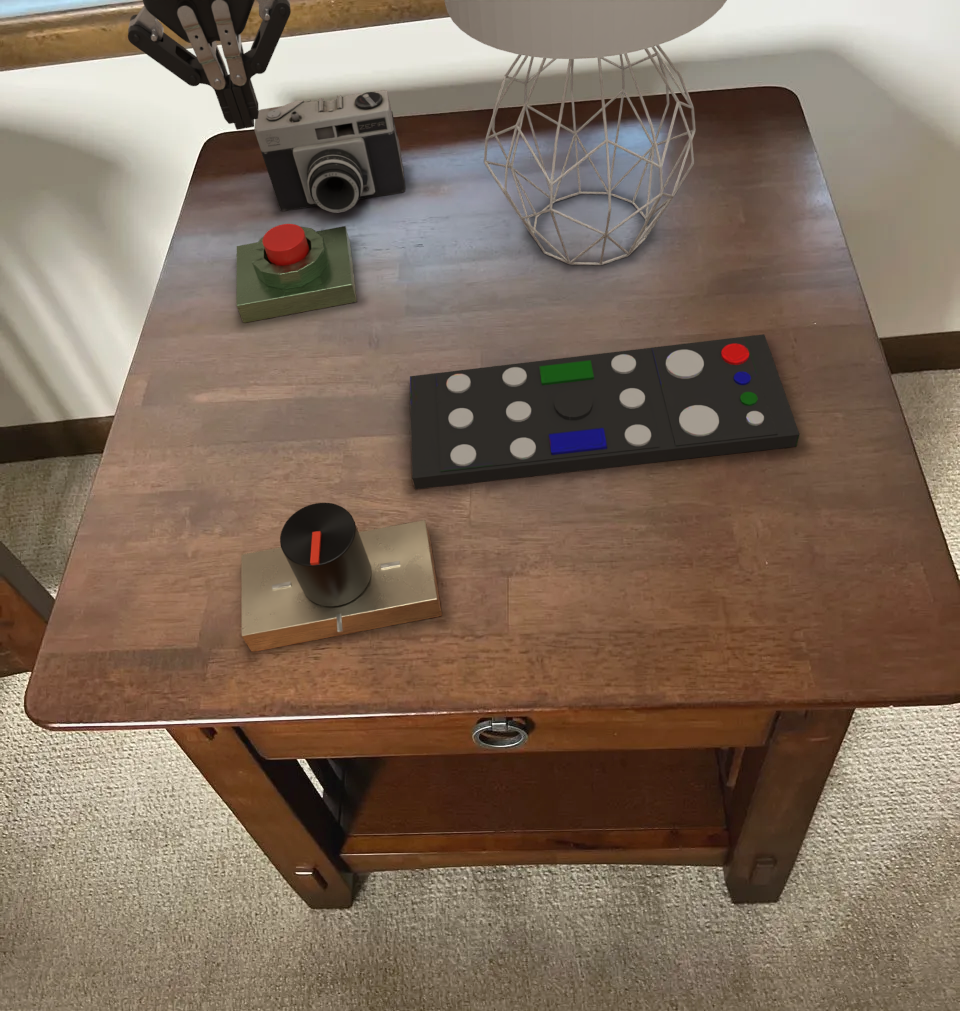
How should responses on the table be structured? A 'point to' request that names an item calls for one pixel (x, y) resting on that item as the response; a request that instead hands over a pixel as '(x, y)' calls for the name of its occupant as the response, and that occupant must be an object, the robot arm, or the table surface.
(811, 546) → the table surface
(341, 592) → the hob knob
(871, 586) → the table surface
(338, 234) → the box
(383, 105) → the camera
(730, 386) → the remote control
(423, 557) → the panel
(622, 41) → the table lamp
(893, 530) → the table surface
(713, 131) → the table surface
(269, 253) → the button
